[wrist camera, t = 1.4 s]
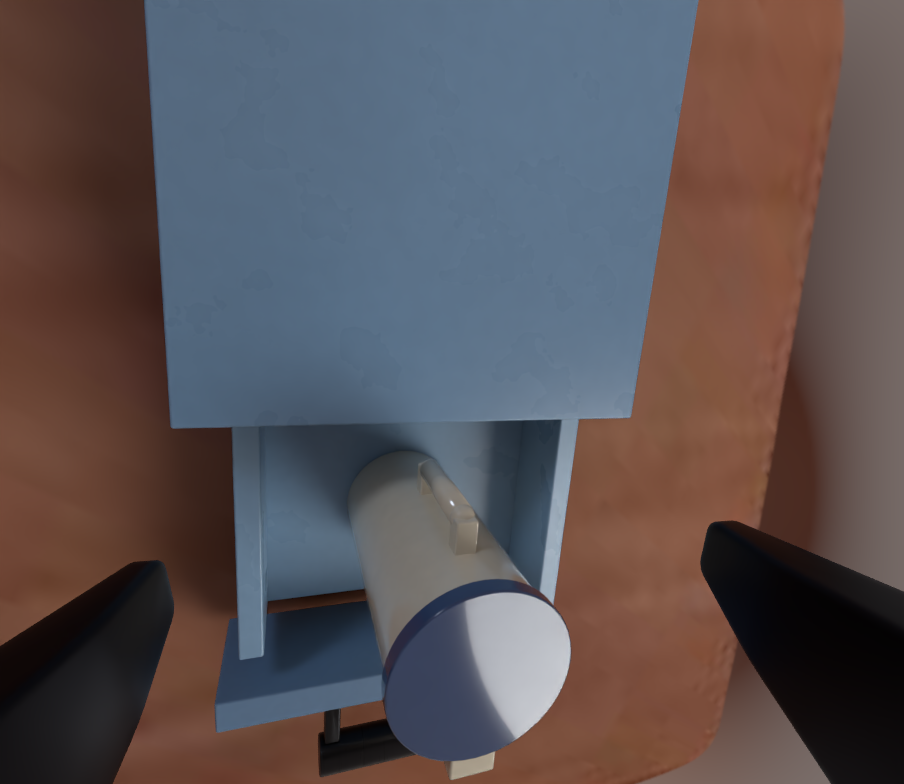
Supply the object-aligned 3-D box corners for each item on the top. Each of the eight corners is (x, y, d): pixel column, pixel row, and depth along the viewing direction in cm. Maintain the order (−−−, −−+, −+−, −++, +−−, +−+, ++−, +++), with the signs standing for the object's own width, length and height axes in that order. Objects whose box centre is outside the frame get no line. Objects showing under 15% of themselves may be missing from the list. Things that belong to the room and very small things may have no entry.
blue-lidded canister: (449, 558, 22) (556, 757, 13) (340, 571, 20) (379, 805, 11) (460, 421, 20) (589, 541, 12) (344, 424, 19) (391, 563, 10)
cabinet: (547, 380, 23) (631, 418, 18) (206, 379, 19) (169, 429, 13) (596, -29, 20) (723, -150, 14) (183, -156, 15) (117, -416, 9)
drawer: (511, 672, 26) (552, 748, 22) (233, 728, 22) (220, 833, 18) (557, 287, 21) (619, 292, 17) (216, 263, 17) (193, 262, 13)
